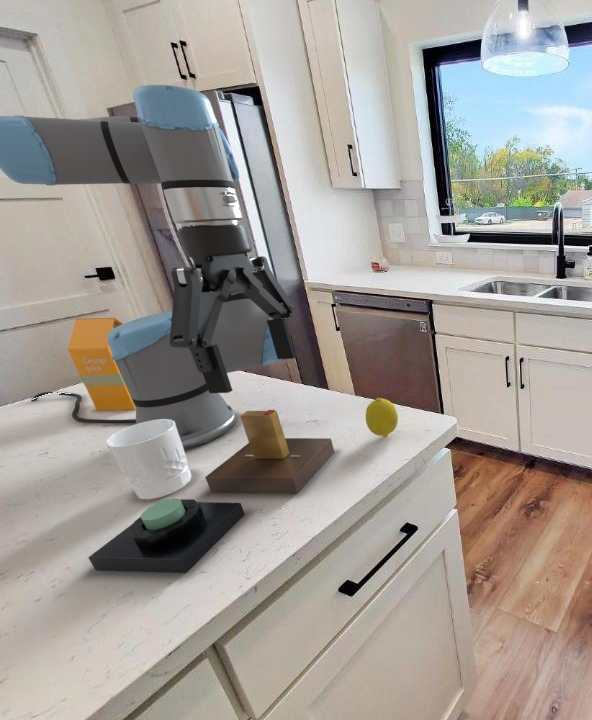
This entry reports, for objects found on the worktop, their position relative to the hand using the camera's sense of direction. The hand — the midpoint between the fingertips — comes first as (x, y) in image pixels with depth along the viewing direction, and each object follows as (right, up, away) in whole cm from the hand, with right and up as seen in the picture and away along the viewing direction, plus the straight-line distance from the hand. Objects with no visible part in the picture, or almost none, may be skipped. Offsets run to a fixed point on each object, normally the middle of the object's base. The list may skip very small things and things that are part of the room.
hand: (257, 373), depth 62 cm
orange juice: (-52, -8, +34) cm, 62 cm away
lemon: (+13, -12, +16) cm, 24 cm away
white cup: (-18, -18, +4) cm, 26 cm away
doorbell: (-6, -22, -7) cm, 24 cm away
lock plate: (-1, -16, +7) cm, 18 cm away
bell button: (-7, -19, -8) cm, 21 cm away
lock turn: (-2, -14, +6) cm, 15 cm away
